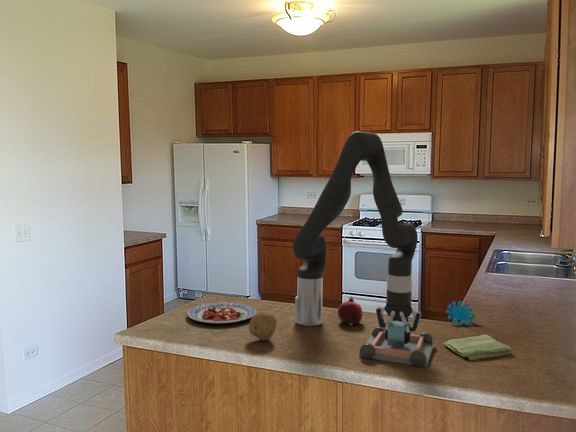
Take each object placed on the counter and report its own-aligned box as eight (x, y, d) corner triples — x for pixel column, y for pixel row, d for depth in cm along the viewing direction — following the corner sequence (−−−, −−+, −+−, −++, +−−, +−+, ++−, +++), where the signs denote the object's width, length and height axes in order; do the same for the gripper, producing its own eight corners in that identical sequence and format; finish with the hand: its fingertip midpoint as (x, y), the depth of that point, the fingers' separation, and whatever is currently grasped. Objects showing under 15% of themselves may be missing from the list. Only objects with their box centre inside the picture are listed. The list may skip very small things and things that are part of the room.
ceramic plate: (175, 324, 188) (175, 316, 188) (204, 305, 213) (204, 298, 212) (243, 330, 182) (243, 322, 181) (264, 310, 206) (264, 302, 206)
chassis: (358, 358, 157) (358, 344, 156) (372, 338, 174) (372, 325, 174) (426, 368, 150) (426, 353, 149) (433, 346, 167) (434, 333, 167)
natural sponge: (251, 346, 166) (251, 316, 165) (246, 337, 174) (246, 308, 173) (279, 344, 168) (279, 314, 167) (272, 335, 177) (272, 306, 176)
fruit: (350, 329, 184) (351, 301, 182) (332, 322, 191) (332, 296, 190) (368, 324, 189) (368, 297, 188) (349, 317, 197) (349, 292, 195)
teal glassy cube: (387, 345, 160) (387, 326, 159) (391, 339, 165) (391, 320, 165) (403, 347, 158) (404, 328, 157) (406, 341, 164) (407, 322, 163)
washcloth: (440, 347, 168) (441, 337, 167) (487, 342, 173) (488, 332, 172) (465, 362, 155) (465, 352, 155) (514, 356, 160) (515, 346, 160)
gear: (447, 321, 187) (447, 297, 193) (443, 329, 192) (443, 305, 198) (478, 327, 186) (477, 303, 192) (473, 334, 191) (473, 310, 197)
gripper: (373, 289, 159) (372, 342, 161) (421, 293, 154) (419, 349, 156) (378, 283, 166) (377, 335, 168) (424, 288, 161) (422, 341, 163)
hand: (397, 341), depth 162 cm, fingers closed on teal glassy cube, 5 cm apart
